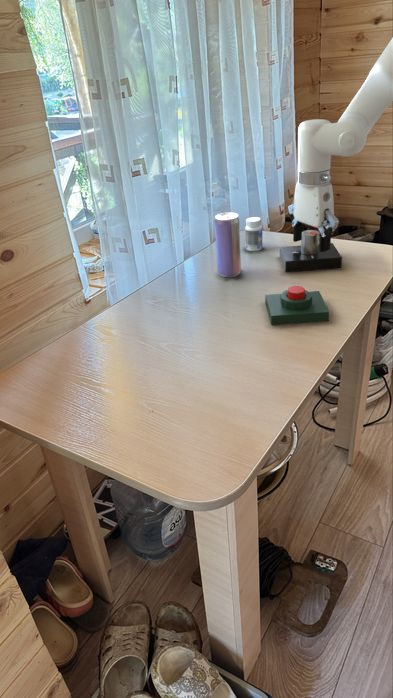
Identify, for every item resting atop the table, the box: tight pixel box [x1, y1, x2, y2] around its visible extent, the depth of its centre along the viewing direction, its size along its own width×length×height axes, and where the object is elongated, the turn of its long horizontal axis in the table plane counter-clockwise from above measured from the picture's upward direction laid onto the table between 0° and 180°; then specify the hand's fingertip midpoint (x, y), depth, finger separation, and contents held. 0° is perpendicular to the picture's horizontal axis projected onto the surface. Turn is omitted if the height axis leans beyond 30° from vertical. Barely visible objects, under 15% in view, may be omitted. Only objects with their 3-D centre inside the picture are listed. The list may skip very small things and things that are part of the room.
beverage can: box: [214, 211, 242, 279], centre depth 128 cm, size 6×6×15 cm
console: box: [279, 242, 343, 273], centre depth 133 cm, size 14×10×3 cm
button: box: [287, 285, 306, 300], centre depth 109 cm, size 4×4×2 cm
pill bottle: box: [244, 216, 263, 252], centre depth 143 cm, size 5×5×8 cm
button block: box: [264, 289, 330, 326], centre depth 111 cm, size 12×10×4 cm
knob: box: [300, 229, 321, 255], centre depth 130 cm, size 4×4×5 cm
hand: (311, 245), depth 131 cm, fingers open, 9 cm apart
